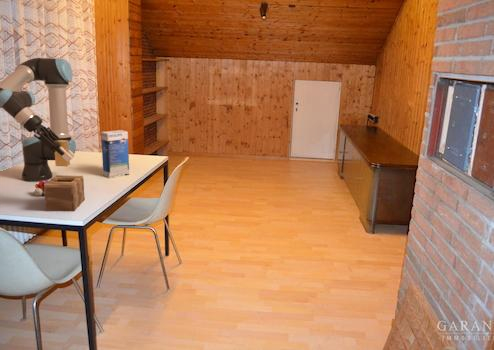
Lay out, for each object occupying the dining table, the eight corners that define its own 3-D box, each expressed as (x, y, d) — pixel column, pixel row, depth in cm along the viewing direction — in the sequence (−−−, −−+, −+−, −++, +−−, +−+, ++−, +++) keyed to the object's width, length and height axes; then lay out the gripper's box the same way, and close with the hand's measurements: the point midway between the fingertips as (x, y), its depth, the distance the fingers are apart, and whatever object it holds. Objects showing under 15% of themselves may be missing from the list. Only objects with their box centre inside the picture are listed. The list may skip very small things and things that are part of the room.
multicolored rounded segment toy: (39, 191, 211) (37, 177, 209) (59, 192, 212) (58, 178, 210) (32, 197, 203) (30, 182, 201) (52, 197, 204) (51, 182, 202)
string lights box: (123, 172, 254) (121, 129, 248) (130, 174, 249) (128, 131, 243) (102, 175, 245) (100, 131, 238) (109, 178, 240) (107, 133, 233)
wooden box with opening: (58, 199, 200) (56, 175, 197) (84, 200, 201) (83, 175, 198) (45, 211, 185) (43, 184, 182) (74, 211, 186) (72, 185, 183)
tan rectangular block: (58, 164, 190) (56, 140, 187) (69, 164, 190) (68, 140, 187) (55, 166, 186) (53, 141, 184) (67, 166, 187) (65, 141, 184)
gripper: (31, 123, 191) (71, 160, 196) (14, 128, 175) (59, 168, 180) (42, 112, 190) (82, 149, 195) (27, 116, 174) (71, 156, 179)
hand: (71, 158), depth 188 cm, fingers closed on tan rectangular block, 3 cm apart
